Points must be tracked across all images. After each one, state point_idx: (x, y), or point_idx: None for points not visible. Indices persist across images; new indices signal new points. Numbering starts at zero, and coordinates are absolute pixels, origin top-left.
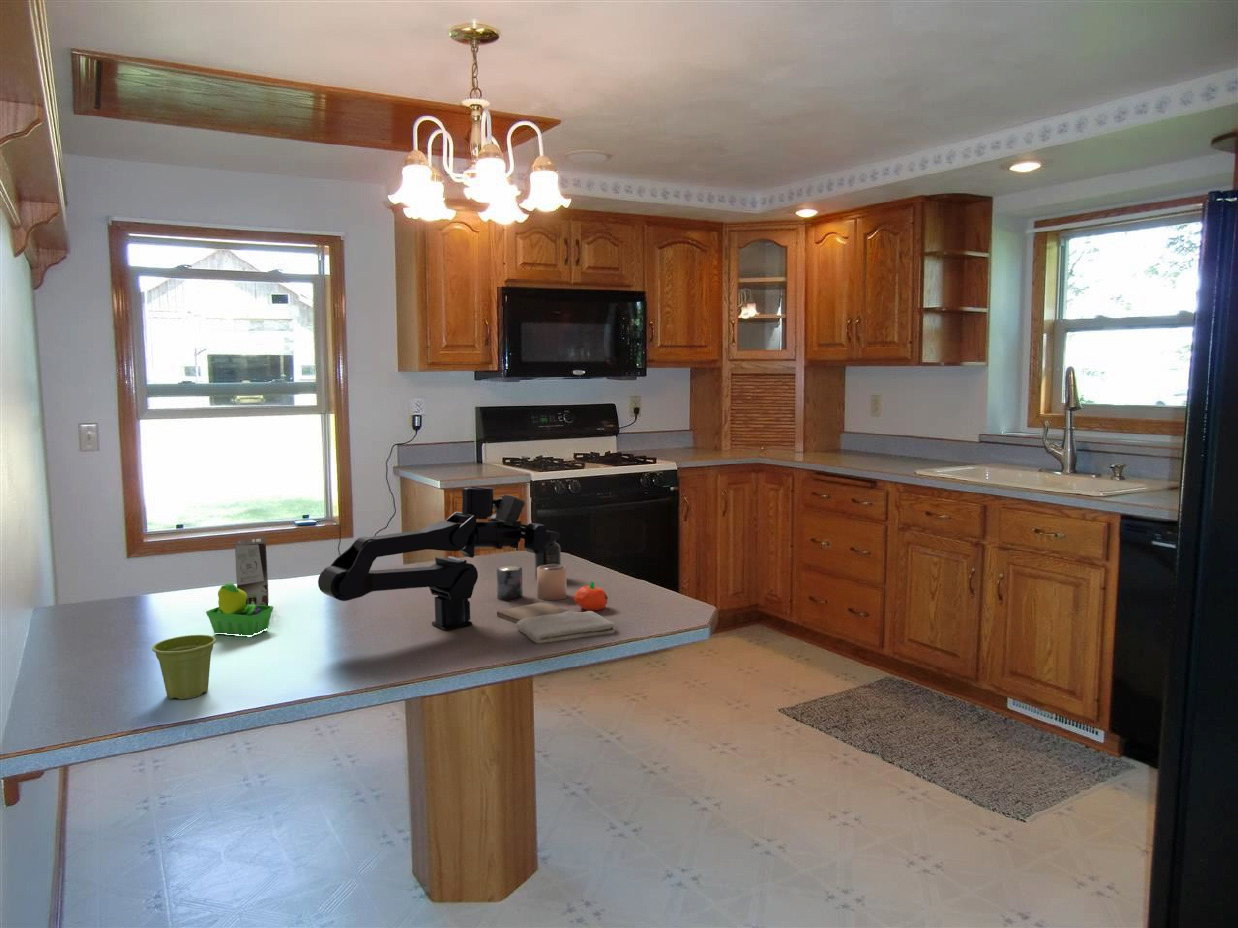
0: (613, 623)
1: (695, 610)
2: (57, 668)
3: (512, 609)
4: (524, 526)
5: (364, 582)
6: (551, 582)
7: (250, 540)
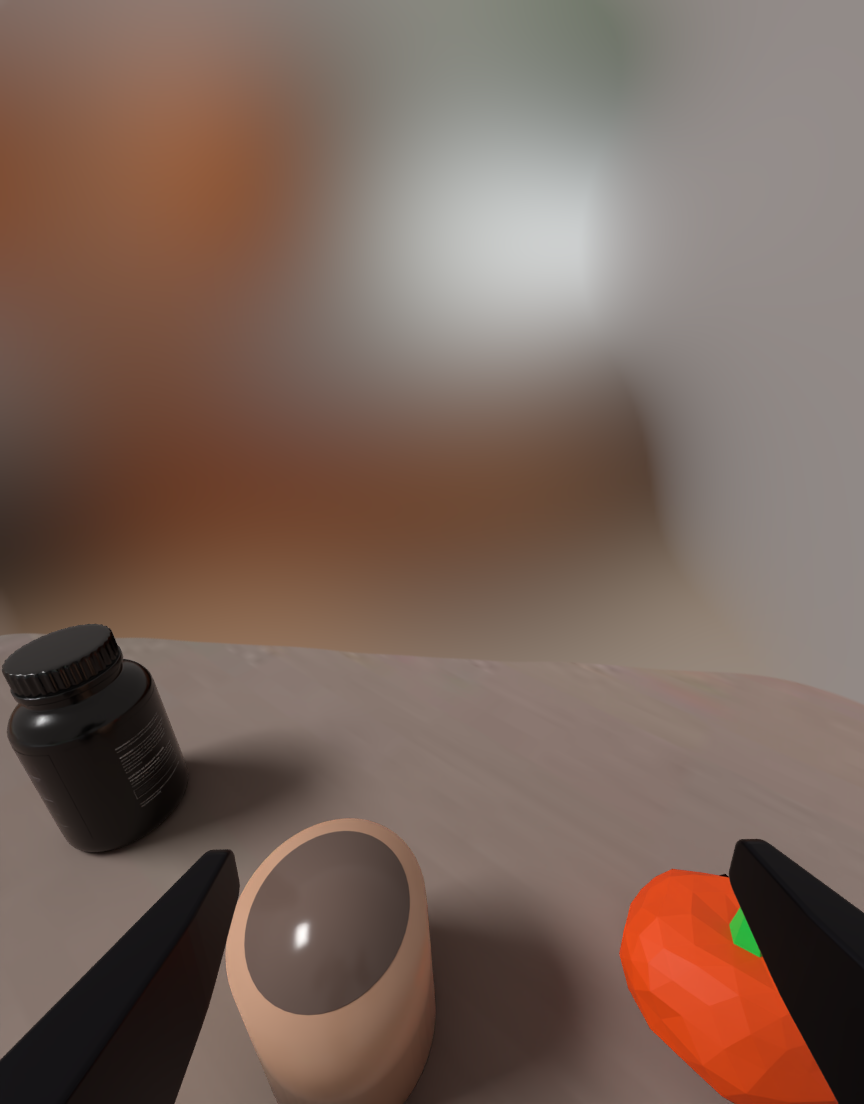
0: None
1: (827, 711)
2: None
3: None
4: (93, 1102)
5: None
6: (410, 1025)
7: None
